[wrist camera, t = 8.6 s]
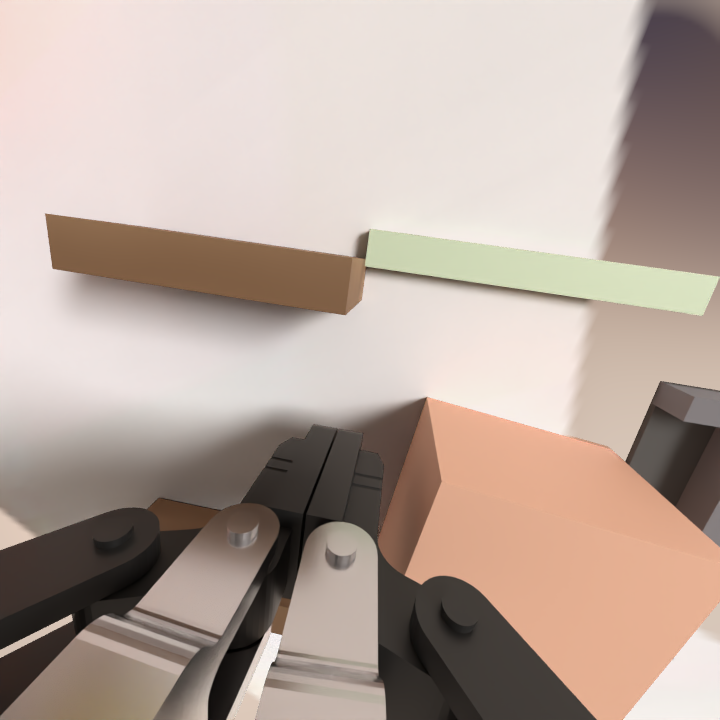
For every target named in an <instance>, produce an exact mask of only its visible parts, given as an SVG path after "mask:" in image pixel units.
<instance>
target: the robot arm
mask: <svg viewBox="0 0 720 720" xmlns="http://www.w3.org/2000/svg"><path fill="white" fill-rule="evenodd" d="M362 438H363V433H359V432H354V431H348V430H343V429H339V430H338V429H337V428H332V427H326V426H321V425H316V424H313V426H312V427H311V429H310V431H309V433H308V435H307V436H306V438H305V440H304V439H299V438H293V437H292V438H291V439H289V440H287V441H286V442H284V443H282V444H281V445H279V447H278V448H277V450H276V451H275V453H274V454H273V456H272V458H271V459H270V460H269V462H268V463H267V465H266V467H265V468H264V469H263V470H262V472H261V473H260V475H259V476H258V478H257V479H256V481H255V482H254V484H253V485H252V487H251V488H250V490H249V491H248V493H247V494H246V496H245V497H244V499H243V500H242V502H241V503H240V504H236V505H233V506H230V507H227V508H225V509H223V510H222V511H220V512H218V513H217V514H216V515H214V516H213V517H212V518H211V519H210V521H209V522H208V523H207V524H206V525H205V526H204V527H202V528H197V529H186V530H170V531H160V523H159V519H158V517H157V516H156V515H155V514H154V513H153V512H151V511H149V510H146V509H143V508H123V509H118V510H113V511H110V512H107V513H104V514H101V515H98V516H95V517H93V518H90V519H87V520H84V521H81V522H79V523H76V524H73V525H70V526H67V527H65V528H62V529H59V530H56V531H53V532H51V533H48V534H45V535H42V536H39V537H36V538H34V539H31V540H28V541H25V542H23V543H20V544H17V545H14V546H11V547H8V548H6V549H3V550H0V649H3V648H5V647H7V646H9V645H11V644H13V643H14V642H17V641H19V640H20V639H23V638H25V637H27V636H29V635H31V634H33V633H35V632H37V631H39V630H41V629H43V628H44V627H47V626H49V625H51V624H53V623H55V622H57V621H59V620H61V619H63V618H65V617H67V616H69V615H70V614H72V618H73V621H72V622H70V623H68V624H66V625H64V626H62V627H60V628H58V629H56V630H54V631H52V632H50V633H48V634H47V635H45V636H43V637H41V638H39V639H37V640H35V641H33V642H31V643H29V644H27V645H25V646H23V647H21V648H19V649H17V650H15V651H13V652H11V653H9V654H7V655H5V656H4V657H2V658H0V720H234V719H235V716H236V714H237V712H238V709H239V707H240V705H241V702H242V700H243V698H244V695H245V693H246V691H247V688H248V686H249V684H250V681H251V679H252V677H253V674H254V672H255V670H256V667H257V665H258V663H259V660H260V658H261V656H262V653H263V651H264V649H265V647H266V644H267V642H268V639H269V637H270V634H271V628H272V622H273V620H274V618H275V615H276V612H277V609H278V607H279V604H280V601H281V598H286V599H291V602H290V606H289V610H288V614H287V618H286V622H285V626H284V630H283V634H282V638H281V642H280V646H279V650H278V653H277V657H276V660H275V662H272V664H271V666H270V669H269V671H268V674H267V677H266V681H265V684H264V688H263V691H262V695H261V699H260V703H259V706H258V710H257V714H256V718H255V720H597V719H596V718H595V717H594V716H593V715H592V714H591V713H590V712H589V710H588V709H587V708H586V707H585V706H584V705H583V704H582V703H581V702H580V701H579V699H578V698H577V697H576V696H575V695H574V694H573V693H572V692H571V691H570V690H569V688H568V687H567V686H566V685H565V684H564V683H563V682H562V681H561V680H560V679H559V677H558V676H557V675H556V674H555V673H554V672H553V671H552V670H551V669H550V668H549V666H548V665H547V664H546V663H545V662H544V661H543V660H542V659H541V658H540V657H539V655H538V654H537V653H536V652H535V651H534V650H533V649H532V648H531V647H530V646H529V644H528V643H527V642H526V641H525V640H524V639H523V638H522V637H521V636H520V635H519V633H518V632H517V631H516V630H515V629H514V628H513V627H512V626H511V625H510V624H509V622H508V621H507V620H506V619H505V618H504V617H503V616H502V615H501V614H500V612H499V611H498V610H497V609H496V608H495V607H494V606H493V605H492V604H491V603H490V601H489V600H488V599H487V598H486V597H485V596H484V595H483V594H482V593H481V592H480V591H479V590H477V589H476V588H475V587H474V586H472V585H470V584H469V583H467V582H465V581H463V580H461V579H458V578H455V577H451V576H435V577H432V578H430V579H428V580H426V581H425V582H424V583H423V584H422V585H421V584H419V583H417V582H416V581H414V580H412V579H410V578H408V577H406V576H405V575H403V574H401V573H400V572H398V571H397V570H396V569H394V568H393V567H392V566H391V565H390V564H389V563H388V562H387V561H386V559H385V558H384V557H383V555H382V553H381V551H380V548H379V546H378V541H377V533H378V522H379V512H380V501H381V490H382V479H383V469H384V465H383V463H382V461H381V459H380V457H379V455H378V453H373V452H367V451H362V450H361V444H362Z"/></svg>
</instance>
